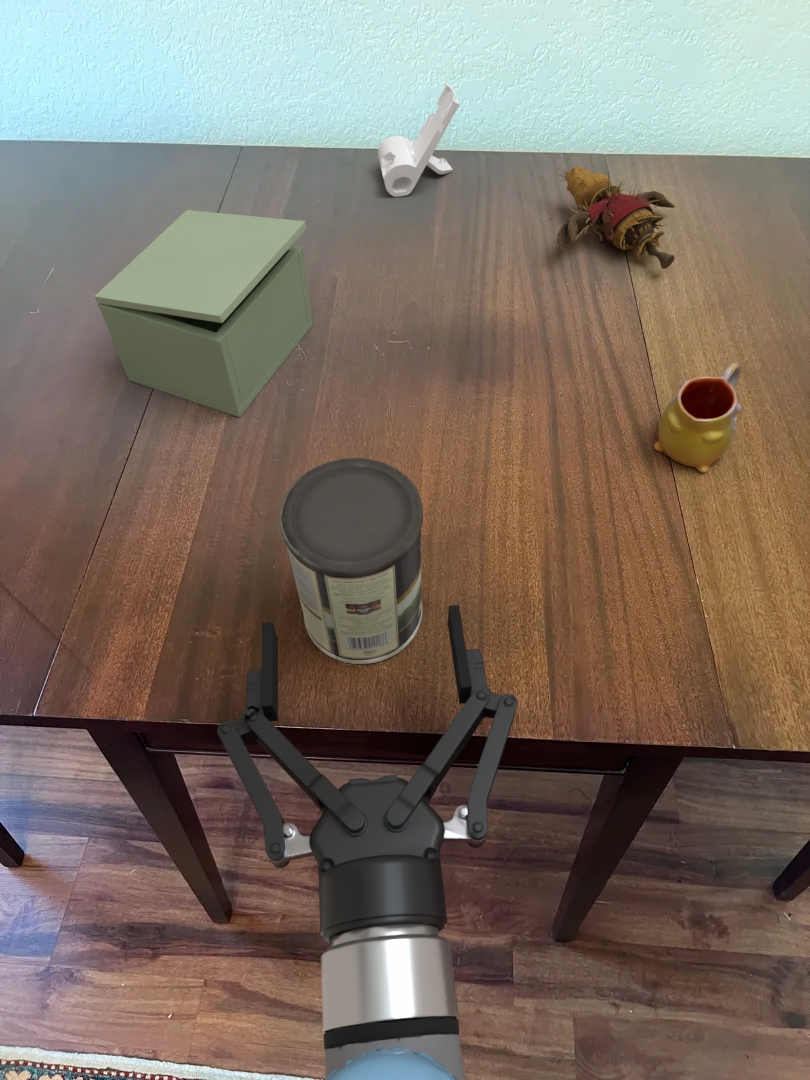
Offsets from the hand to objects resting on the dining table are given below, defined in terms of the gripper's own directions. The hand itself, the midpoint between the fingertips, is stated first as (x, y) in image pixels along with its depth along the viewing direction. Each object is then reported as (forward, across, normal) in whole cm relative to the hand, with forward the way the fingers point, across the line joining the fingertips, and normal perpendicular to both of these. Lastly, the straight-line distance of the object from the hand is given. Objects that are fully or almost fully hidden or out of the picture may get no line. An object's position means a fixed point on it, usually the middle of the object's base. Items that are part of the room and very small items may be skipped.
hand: (362, 622), depth 58 cm
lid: (+40, -13, +4) cm, 42 cm away
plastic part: (+72, +12, -8) cm, 74 cm away
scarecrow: (+56, +34, -8) cm, 66 cm away
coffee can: (+5, 0, -8) cm, 9 cm away
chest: (+40, -13, -7) cm, 43 cm away
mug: (+23, +35, -8) cm, 43 cm away
